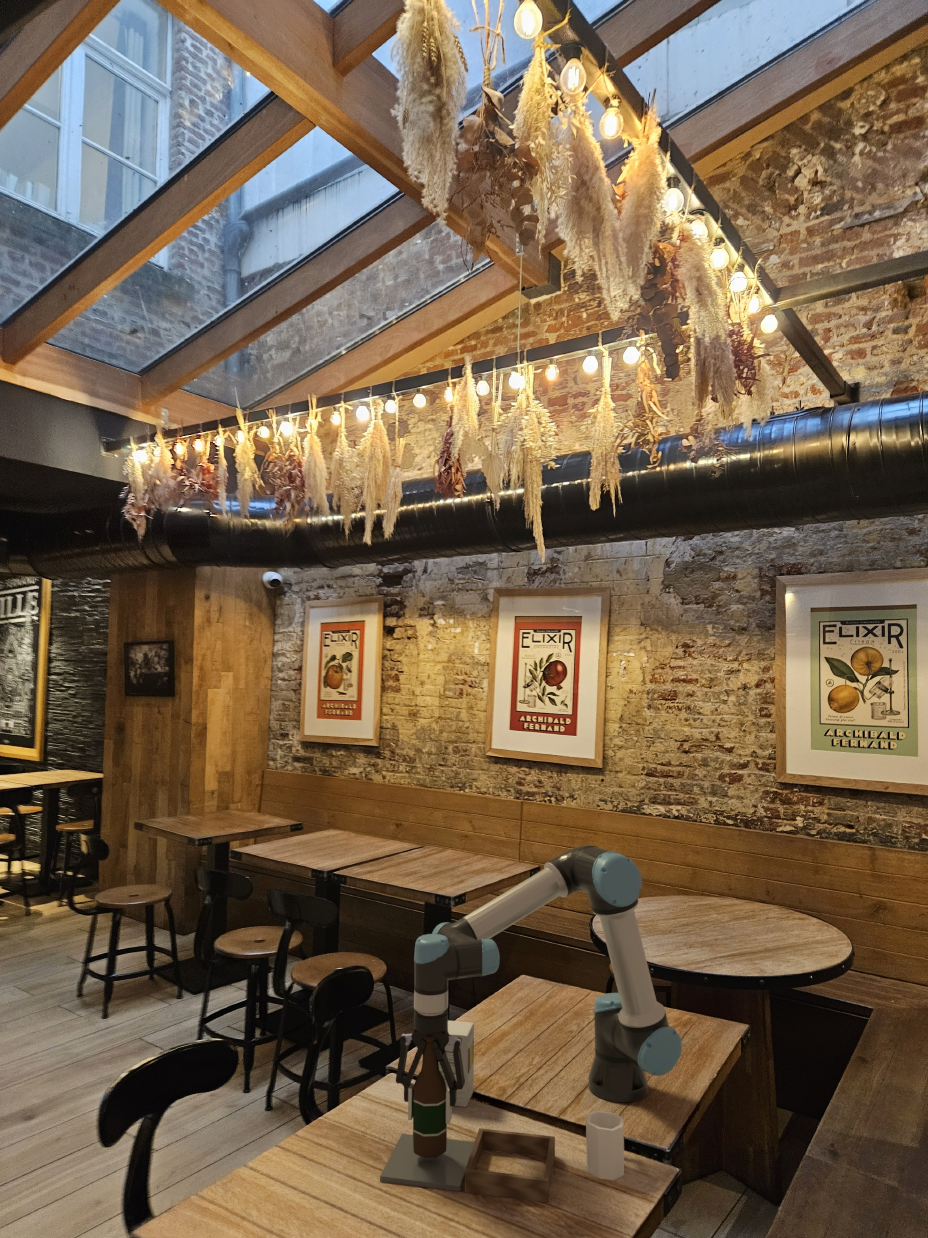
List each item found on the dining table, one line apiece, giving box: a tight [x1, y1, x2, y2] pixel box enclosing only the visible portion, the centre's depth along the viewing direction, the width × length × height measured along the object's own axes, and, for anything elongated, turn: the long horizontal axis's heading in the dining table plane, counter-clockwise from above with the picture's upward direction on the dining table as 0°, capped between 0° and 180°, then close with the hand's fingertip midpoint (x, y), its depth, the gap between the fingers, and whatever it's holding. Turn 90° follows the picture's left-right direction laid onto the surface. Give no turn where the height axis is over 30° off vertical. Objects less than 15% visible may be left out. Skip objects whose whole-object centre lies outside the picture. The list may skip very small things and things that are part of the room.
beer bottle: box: [412, 1035, 448, 1158], centre depth 176 cm, size 8×8×24 cm
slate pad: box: [379, 1133, 475, 1192], centre depth 174 cm, size 17×17×1 cm
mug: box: [585, 1109, 625, 1181], centre depth 175 cm, size 12×9×10 cm
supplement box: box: [438, 1019, 475, 1108], centre depth 204 cm, size 10×9×17 cm
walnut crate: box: [464, 1127, 556, 1203], centre depth 171 cm, size 17×17×4 cm
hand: (429, 1119), depth 175 cm, fingers closed on beer bottle, 8 cm apart
